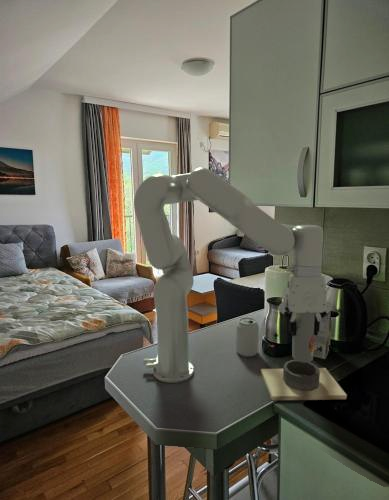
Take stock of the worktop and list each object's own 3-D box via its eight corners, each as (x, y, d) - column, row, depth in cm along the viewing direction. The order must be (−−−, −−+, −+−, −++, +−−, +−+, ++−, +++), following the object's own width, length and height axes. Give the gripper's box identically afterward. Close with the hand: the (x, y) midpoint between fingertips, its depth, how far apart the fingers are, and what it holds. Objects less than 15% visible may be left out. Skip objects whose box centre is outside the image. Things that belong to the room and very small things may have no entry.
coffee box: (311, 344, 120) (313, 302, 118) (330, 348, 117) (333, 305, 114) (305, 355, 112) (308, 309, 110) (325, 359, 109) (328, 313, 107)
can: (257, 359, 110) (258, 325, 108) (235, 356, 111) (235, 323, 109) (258, 348, 117) (258, 316, 115) (236, 347, 119) (237, 315, 117)
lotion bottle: (315, 355, 94) (317, 288, 91) (310, 364, 90) (312, 294, 86) (295, 351, 97) (296, 286, 94) (289, 360, 92) (291, 291, 89)
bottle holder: (272, 400, 88) (272, 382, 87) (260, 372, 101) (261, 356, 101) (346, 399, 88) (347, 381, 87) (325, 371, 102) (326, 355, 101)
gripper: (278, 274, 85) (276, 340, 88) (344, 273, 86) (340, 338, 89) (271, 268, 93) (269, 328, 96) (331, 267, 93) (328, 327, 96)
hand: (303, 333), depth 92 cm, fingers closed on lotion bottle, 5 cm apart
